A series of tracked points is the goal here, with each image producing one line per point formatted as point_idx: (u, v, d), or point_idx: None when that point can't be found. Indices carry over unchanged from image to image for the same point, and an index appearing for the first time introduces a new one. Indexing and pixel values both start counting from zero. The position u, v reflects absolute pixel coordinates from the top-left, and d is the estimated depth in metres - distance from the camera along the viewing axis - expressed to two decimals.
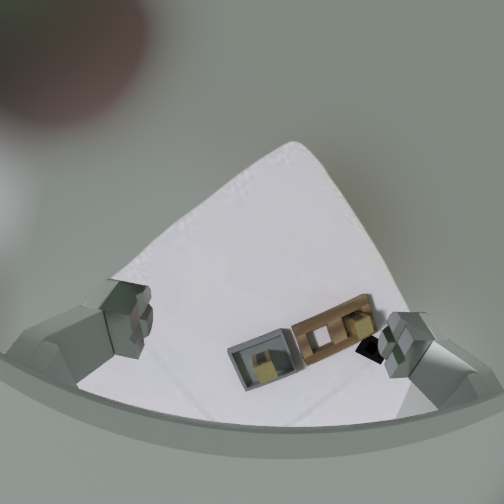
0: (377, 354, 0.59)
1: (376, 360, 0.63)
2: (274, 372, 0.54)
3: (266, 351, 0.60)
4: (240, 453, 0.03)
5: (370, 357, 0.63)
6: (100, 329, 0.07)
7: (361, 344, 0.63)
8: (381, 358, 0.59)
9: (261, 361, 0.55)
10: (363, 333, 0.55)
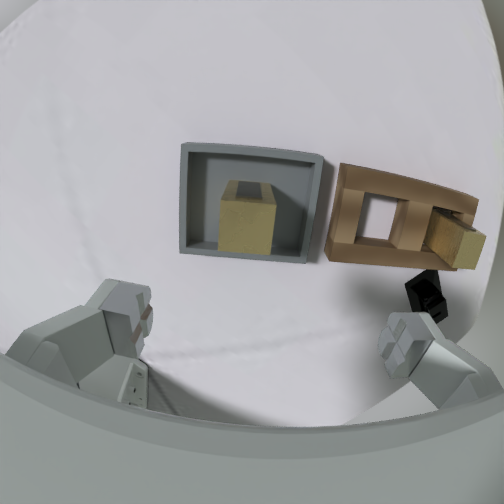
0: (434, 311, 0.30)
1: None
2: (267, 238, 0.21)
3: (266, 185, 0.26)
4: (239, 454, 0.03)
5: (414, 307, 0.34)
6: (100, 329, 0.07)
7: (418, 278, 0.32)
8: None
9: (248, 195, 0.21)
10: (463, 260, 0.22)
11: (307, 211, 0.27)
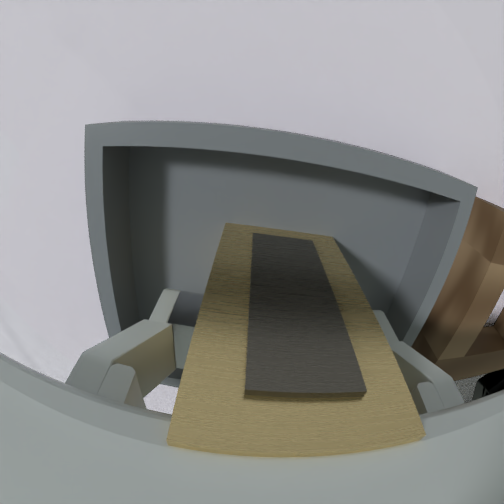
0: None
1: None
2: None
3: (328, 247, 0.09)
4: None
5: None
6: (167, 344, 0.07)
7: None
8: None
9: (304, 363, 0.04)
10: None
11: (412, 312, 0.10)
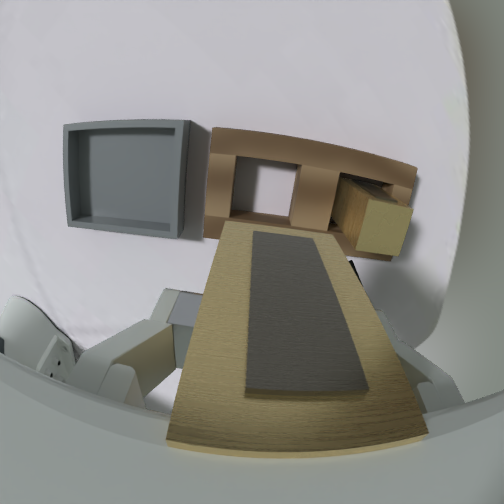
0: None
1: None
2: None
3: (328, 245, 0.09)
4: None
5: None
6: (167, 344, 0.07)
7: None
8: None
9: (306, 361, 0.04)
10: (374, 241, 0.20)
11: None
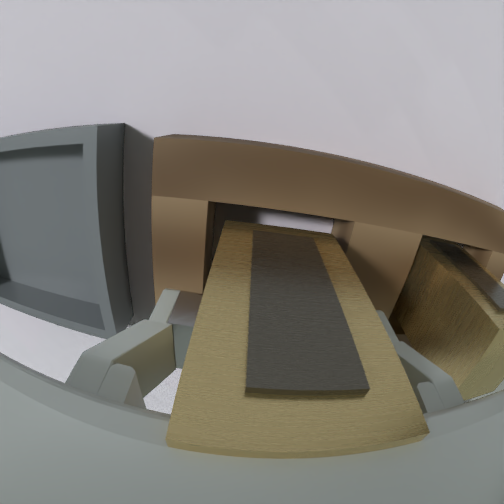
0: None
1: None
2: None
3: (328, 245, 0.09)
4: None
5: None
6: (167, 344, 0.07)
7: None
8: None
9: (306, 360, 0.04)
10: (474, 387, 0.07)
11: None
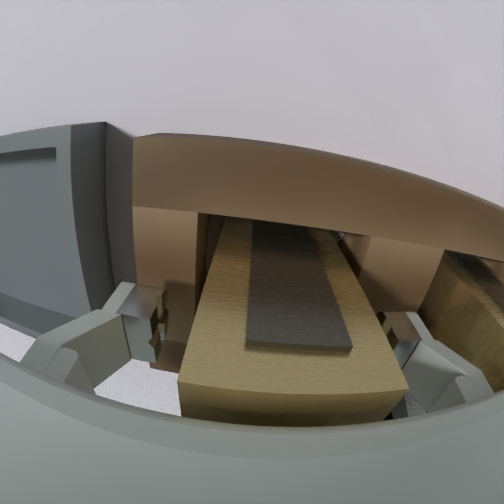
0: None
1: None
2: None
3: (321, 234, 0.10)
4: (239, 453, 0.03)
5: None
6: (118, 333, 0.07)
7: None
8: None
9: (297, 321, 0.05)
10: None
11: None
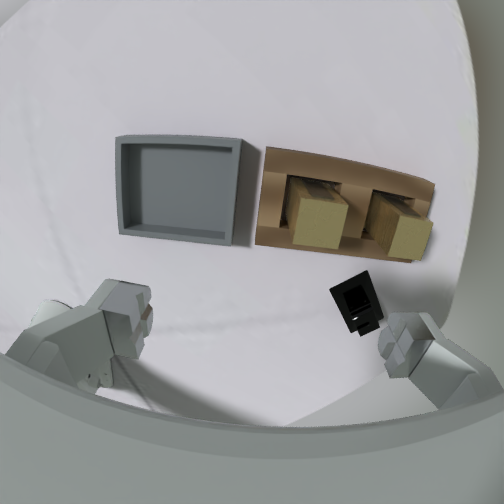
0: (360, 321, 0.32)
1: (349, 324, 0.37)
2: (337, 234, 0.23)
3: (325, 184, 0.28)
4: (239, 453, 0.03)
5: (344, 314, 0.36)
6: (100, 329, 0.07)
7: (345, 284, 0.34)
8: (361, 331, 0.33)
9: (321, 194, 0.23)
10: (402, 249, 0.23)
11: None
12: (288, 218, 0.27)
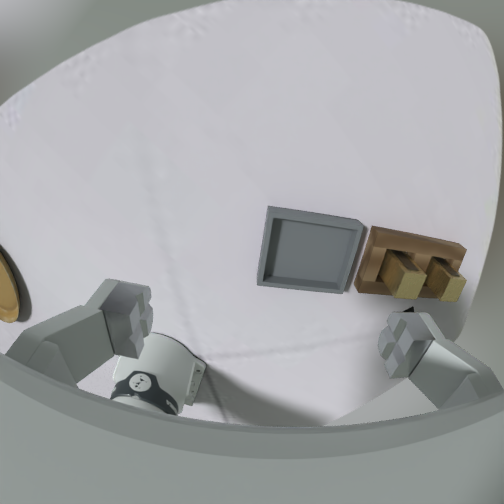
0: None
1: None
2: (418, 291, 0.33)
3: (404, 252, 0.39)
4: (239, 453, 0.03)
5: None
6: (100, 329, 0.07)
7: None
8: None
9: (411, 267, 0.34)
10: (448, 296, 0.34)
11: (348, 260, 0.38)
12: (383, 276, 0.38)
